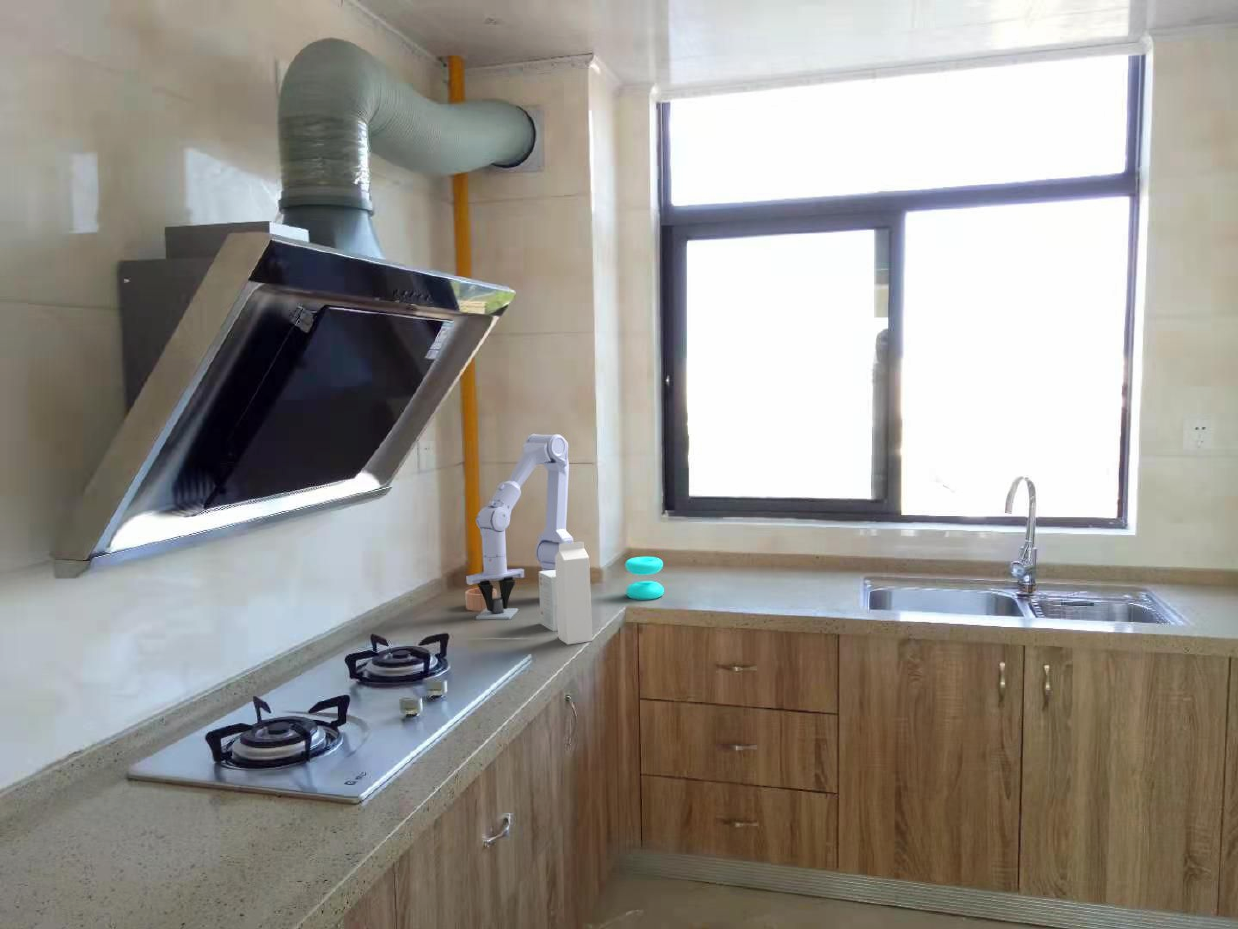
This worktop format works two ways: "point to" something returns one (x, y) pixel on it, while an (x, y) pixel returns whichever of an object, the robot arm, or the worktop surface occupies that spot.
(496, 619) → the mat
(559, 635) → the milk
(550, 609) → the small box
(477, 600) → the bowl
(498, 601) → the lid
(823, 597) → the worktop surface
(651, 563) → the donuts
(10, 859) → the worktop surface
